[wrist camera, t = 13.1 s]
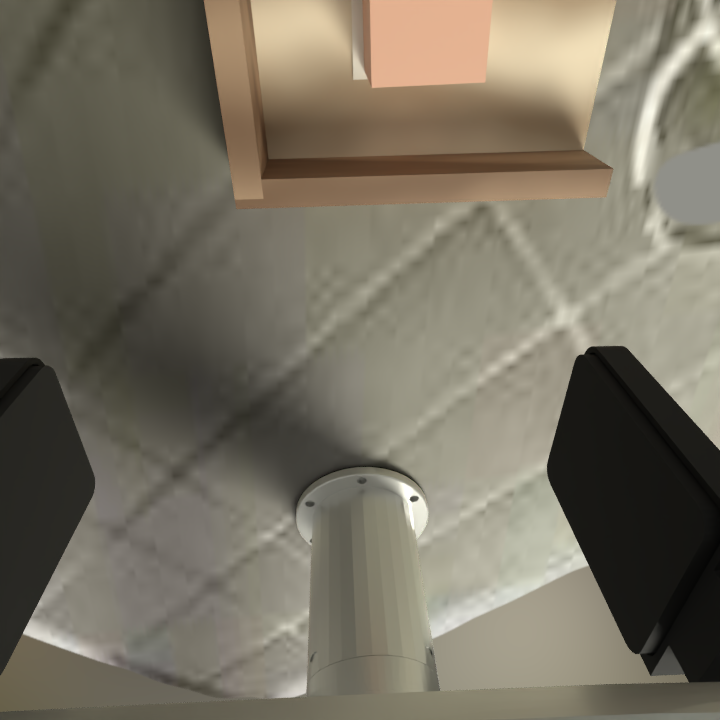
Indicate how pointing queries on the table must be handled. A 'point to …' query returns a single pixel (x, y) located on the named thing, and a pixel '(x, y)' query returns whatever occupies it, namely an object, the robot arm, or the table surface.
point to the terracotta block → (425, 41)
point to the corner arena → (405, 108)
